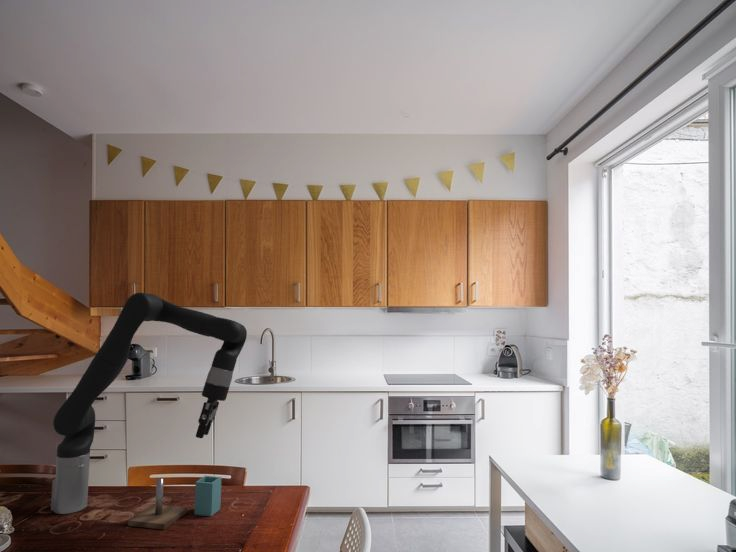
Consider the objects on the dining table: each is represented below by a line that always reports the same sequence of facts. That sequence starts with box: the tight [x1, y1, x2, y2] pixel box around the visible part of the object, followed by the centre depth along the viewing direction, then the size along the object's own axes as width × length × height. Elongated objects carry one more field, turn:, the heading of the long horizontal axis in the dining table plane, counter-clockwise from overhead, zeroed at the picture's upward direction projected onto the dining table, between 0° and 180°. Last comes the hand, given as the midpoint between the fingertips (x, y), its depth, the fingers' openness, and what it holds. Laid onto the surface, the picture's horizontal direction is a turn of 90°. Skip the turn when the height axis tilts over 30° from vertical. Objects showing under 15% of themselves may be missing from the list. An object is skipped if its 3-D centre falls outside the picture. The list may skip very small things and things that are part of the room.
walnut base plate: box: [127, 503, 188, 530], centre depth 147 cm, size 12×12×2 cm
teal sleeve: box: [193, 475, 222, 517], centre depth 153 cm, size 6×6×10 cm
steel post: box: [155, 477, 164, 515], centre depth 148 cm, size 2×2×10 cm
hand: (201, 436), depth 147 cm, fingers open, 8 cm apart
